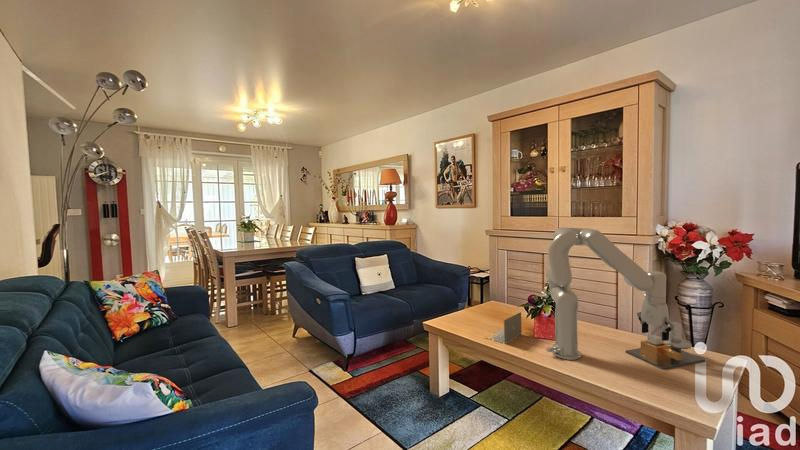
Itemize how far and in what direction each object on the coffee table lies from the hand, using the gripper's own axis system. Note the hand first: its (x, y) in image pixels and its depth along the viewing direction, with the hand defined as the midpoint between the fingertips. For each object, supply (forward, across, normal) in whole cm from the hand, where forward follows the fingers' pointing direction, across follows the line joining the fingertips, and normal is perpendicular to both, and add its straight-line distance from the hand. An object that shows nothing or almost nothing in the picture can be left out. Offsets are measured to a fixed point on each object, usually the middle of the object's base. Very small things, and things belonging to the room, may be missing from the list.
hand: (654, 336), depth 157 cm
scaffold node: (+10, +1, +5) cm, 11 cm away
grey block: (+9, 0, 0) cm, 9 cm away
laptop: (+12, -46, -50) cm, 69 cm away
